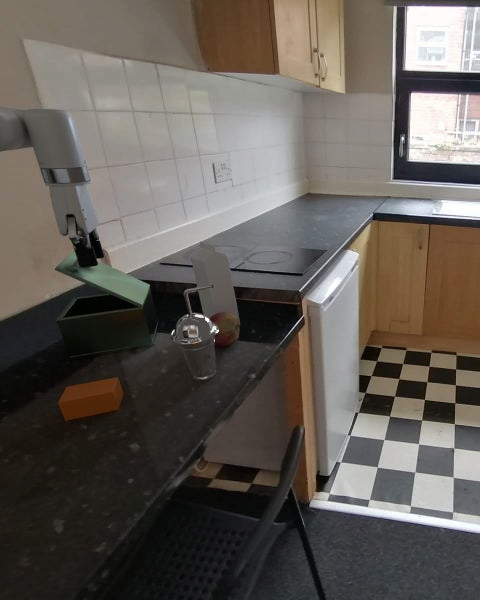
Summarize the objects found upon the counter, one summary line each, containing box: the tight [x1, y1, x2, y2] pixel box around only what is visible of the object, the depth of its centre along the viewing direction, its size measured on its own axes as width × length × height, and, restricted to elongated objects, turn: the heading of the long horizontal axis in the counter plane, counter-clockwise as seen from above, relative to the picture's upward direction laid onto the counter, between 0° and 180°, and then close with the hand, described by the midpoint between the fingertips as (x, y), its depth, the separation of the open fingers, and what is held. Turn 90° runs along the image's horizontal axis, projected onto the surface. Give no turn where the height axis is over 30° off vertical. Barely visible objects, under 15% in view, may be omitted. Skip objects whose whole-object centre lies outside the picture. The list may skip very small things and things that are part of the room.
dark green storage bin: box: [55, 287, 160, 361], centre depth 94 cm, size 16×13×10 cm
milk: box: [190, 241, 241, 326], centre depth 99 cm, size 6×6×22 cm
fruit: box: [209, 312, 241, 348], centre depth 93 cm, size 8×8×8 cm
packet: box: [57, 376, 125, 422], centre depth 73 cm, size 8×5×4 cm, turn 113°
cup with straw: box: [170, 285, 219, 382], centre depth 79 cm, size 8×9×20 cm
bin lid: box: [54, 245, 151, 307], centre depth 90 cm, size 17×13×5 cm
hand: (92, 261), depth 88 cm, fingers closed on bin lid, 5 cm apart
